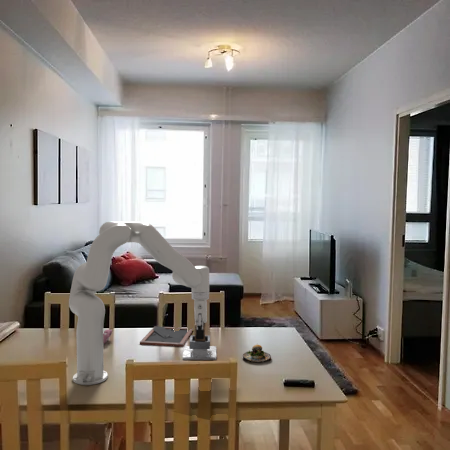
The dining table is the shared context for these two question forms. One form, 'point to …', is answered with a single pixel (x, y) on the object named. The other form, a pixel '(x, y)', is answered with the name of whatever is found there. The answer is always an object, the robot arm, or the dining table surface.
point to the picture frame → (166, 336)
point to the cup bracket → (199, 350)
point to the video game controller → (106, 335)
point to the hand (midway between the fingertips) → (200, 336)
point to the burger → (256, 354)
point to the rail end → (204, 332)
